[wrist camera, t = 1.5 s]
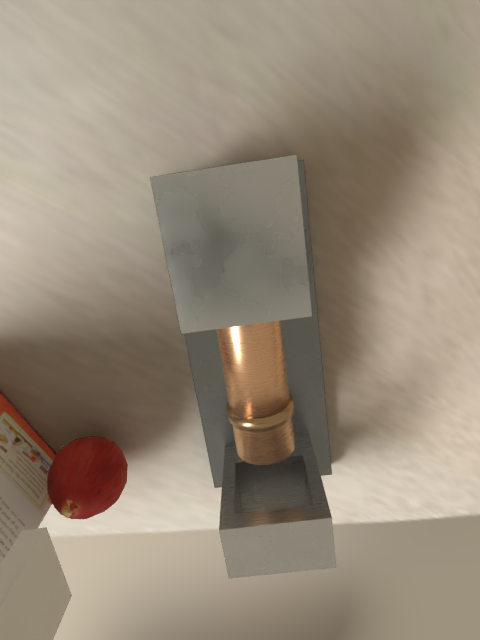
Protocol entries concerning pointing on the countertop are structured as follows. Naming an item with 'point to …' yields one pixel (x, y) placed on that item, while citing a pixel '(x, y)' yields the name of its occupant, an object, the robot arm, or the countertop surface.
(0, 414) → the cracker box
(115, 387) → the countertop surface
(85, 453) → the red round fruit
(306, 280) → the jig
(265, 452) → the copper tube
